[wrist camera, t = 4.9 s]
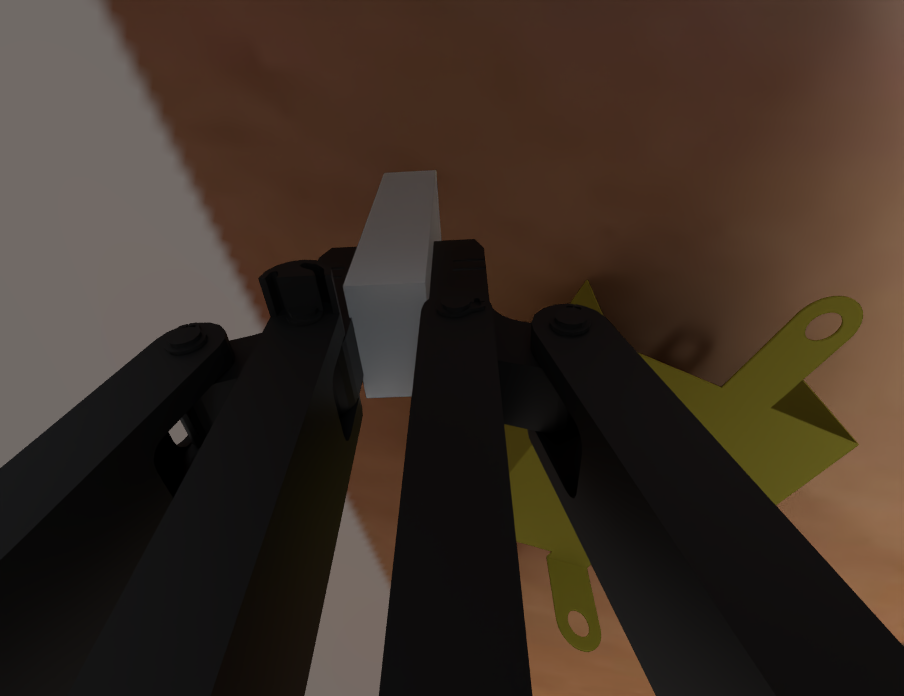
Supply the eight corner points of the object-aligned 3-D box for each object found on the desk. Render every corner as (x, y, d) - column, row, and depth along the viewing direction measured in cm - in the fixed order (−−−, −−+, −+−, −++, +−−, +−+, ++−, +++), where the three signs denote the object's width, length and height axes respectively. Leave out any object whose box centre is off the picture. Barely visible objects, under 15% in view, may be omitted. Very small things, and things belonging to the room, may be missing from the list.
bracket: (1151, 478, 13) (737, 686, 21) (928, 317, 20) (673, 526, 28) (682, 249, 9) (395, 608, 18) (592, 140, 16) (411, 442, 24)
